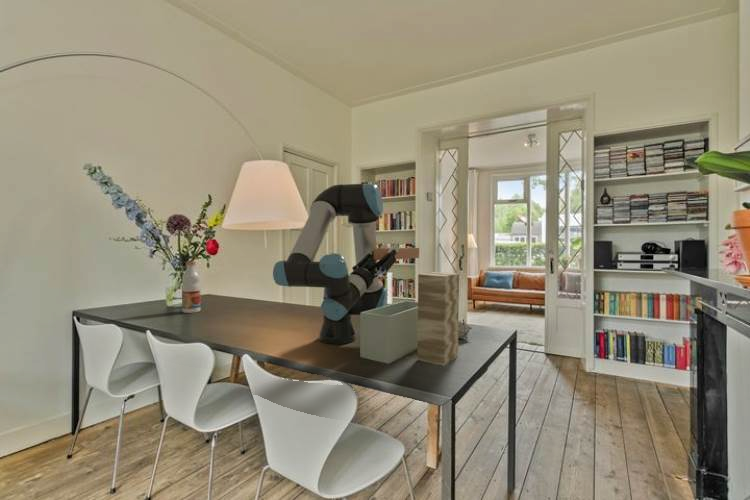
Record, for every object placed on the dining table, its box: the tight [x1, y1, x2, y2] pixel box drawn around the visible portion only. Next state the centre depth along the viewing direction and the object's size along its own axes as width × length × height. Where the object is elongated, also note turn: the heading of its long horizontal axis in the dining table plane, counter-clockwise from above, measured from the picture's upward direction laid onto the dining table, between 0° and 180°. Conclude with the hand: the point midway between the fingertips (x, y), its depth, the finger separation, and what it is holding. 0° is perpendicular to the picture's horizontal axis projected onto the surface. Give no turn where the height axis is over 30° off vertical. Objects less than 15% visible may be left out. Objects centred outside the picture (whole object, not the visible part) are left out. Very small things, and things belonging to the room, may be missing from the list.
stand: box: [416, 271, 460, 367], centre depth 128 cm, size 12×10×30 cm
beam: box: [374, 247, 420, 261], centre depth 137 cm, size 26×4×4 cm, turn 145°
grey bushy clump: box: [458, 318, 473, 340], centre depth 154 cm, size 9×8×10 cm
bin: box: [359, 300, 418, 365], centre depth 138 cm, size 31×12×16 cm, turn 145°
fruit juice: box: [181, 261, 202, 314], centre depth 205 cm, size 9×9×28 cm
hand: (391, 246), depth 133 cm, fingers closed on beam, 4 cm apart
